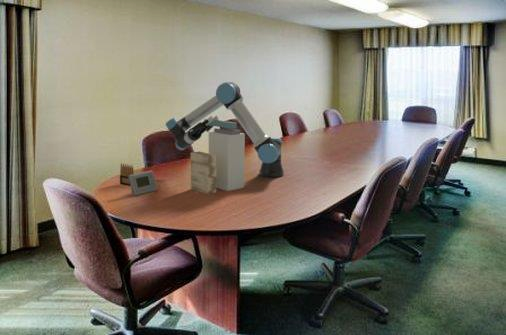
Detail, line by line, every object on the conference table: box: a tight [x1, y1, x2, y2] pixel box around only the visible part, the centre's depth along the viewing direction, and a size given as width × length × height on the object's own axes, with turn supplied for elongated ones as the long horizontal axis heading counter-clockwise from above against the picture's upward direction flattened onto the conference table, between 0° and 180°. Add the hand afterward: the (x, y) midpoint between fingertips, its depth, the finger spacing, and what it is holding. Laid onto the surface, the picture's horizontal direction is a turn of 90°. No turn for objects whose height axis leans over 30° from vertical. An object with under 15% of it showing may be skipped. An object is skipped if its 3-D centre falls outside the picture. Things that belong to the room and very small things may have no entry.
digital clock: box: [128, 170, 158, 197], centre depth 237 cm, size 16×9×11 cm, turn 133°
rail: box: [203, 118, 238, 129], centre depth 250 cm, size 3×24×3 cm, turn 44°
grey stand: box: [208, 127, 246, 192], centre depth 250 cm, size 12×16×32 cm
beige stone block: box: [190, 151, 217, 195], centre depth 242 cm, size 6×14×20 cm, turn 44°
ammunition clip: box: [119, 162, 135, 187], centre depth 252 cm, size 11×2×12 cm, turn 56°
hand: (214, 118), depth 252 cm, fingers closed on rail, 3 cm apart
